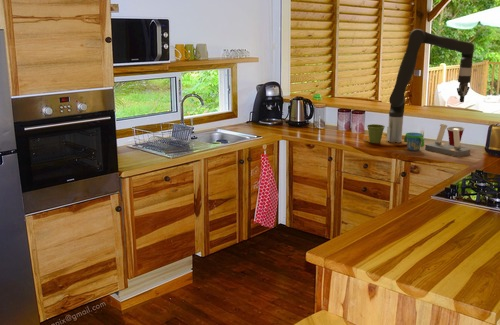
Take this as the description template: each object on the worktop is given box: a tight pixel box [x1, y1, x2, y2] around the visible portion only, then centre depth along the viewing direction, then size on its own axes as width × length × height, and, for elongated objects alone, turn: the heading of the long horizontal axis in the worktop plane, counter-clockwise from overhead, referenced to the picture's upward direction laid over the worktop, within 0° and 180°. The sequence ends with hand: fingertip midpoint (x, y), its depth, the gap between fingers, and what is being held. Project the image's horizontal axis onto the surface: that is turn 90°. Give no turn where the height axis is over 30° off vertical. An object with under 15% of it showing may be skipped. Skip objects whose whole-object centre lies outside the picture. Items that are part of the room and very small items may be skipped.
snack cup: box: [403, 132, 425, 152], centre depth 349 cm, size 16×10×10 cm
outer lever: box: [452, 128, 462, 149], centre depth 336 cm, size 2×4×13 cm, turn 33°
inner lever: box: [434, 123, 448, 145], centre depth 349 cm, size 2×4×13 cm, turn 35°
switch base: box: [424, 142, 471, 158], centre depth 344 cm, size 12×24×3 cm, turn 34°
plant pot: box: [366, 123, 386, 144], centre depth 370 cm, size 12×12×11 cm
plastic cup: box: [446, 126, 465, 146], centre depth 358 cm, size 11×11×12 cm
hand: (461, 102), depth 352 cm, fingers closed
